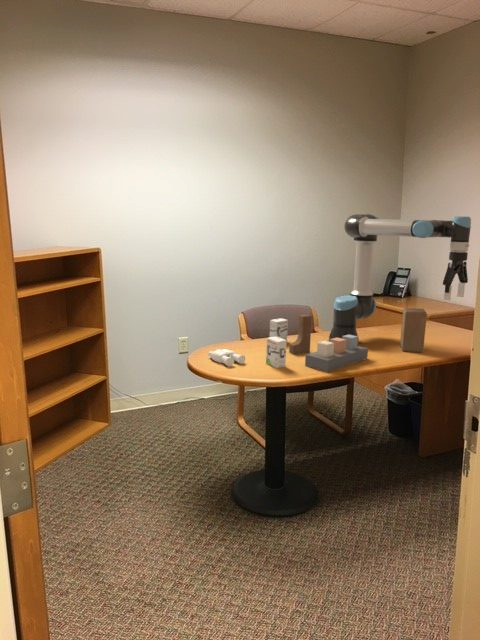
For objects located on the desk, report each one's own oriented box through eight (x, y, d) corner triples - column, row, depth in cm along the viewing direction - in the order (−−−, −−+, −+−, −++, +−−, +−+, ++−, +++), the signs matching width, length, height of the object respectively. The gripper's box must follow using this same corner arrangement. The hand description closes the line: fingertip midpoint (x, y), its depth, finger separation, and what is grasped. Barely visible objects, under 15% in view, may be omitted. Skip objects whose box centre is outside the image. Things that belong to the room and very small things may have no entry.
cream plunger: (316, 358, 221) (317, 342, 220) (323, 356, 224) (324, 340, 223) (326, 360, 217) (326, 344, 216) (333, 358, 221) (334, 342, 219)
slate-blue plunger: (341, 350, 233) (342, 336, 232) (347, 349, 236) (348, 334, 235) (350, 353, 230) (351, 338, 228) (356, 351, 233) (357, 336, 231)
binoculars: (226, 367, 218) (226, 357, 217) (205, 359, 230) (205, 349, 229) (245, 363, 224) (245, 353, 223) (224, 355, 237) (224, 345, 236)
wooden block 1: (293, 354, 238) (294, 317, 234) (288, 352, 242) (290, 315, 239) (310, 353, 242) (311, 316, 238) (305, 350, 246) (307, 314, 242)
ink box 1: (275, 344, 256) (276, 321, 254) (268, 342, 260) (269, 320, 257) (287, 342, 262) (288, 319, 259) (280, 340, 265) (281, 318, 263)
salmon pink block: (329, 354, 227) (330, 339, 226) (336, 352, 230) (337, 337, 229) (338, 356, 224) (339, 341, 222) (345, 354, 227) (346, 339, 225)
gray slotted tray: (305, 365, 222) (305, 354, 221) (345, 353, 242) (346, 343, 241) (327, 372, 213) (327, 360, 212) (367, 358, 234) (368, 348, 232)
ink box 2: (265, 363, 224) (266, 337, 222) (274, 361, 227) (275, 336, 225) (277, 368, 217) (277, 341, 215) (286, 366, 220) (287, 340, 217)
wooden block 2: (423, 353, 245) (427, 312, 241) (401, 351, 247) (405, 311, 243) (420, 347, 255) (424, 308, 251) (399, 346, 257) (403, 307, 252)
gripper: (454, 253, 217) (449, 302, 221) (478, 250, 234) (473, 296, 238) (437, 252, 222) (433, 300, 227) (462, 249, 239) (457, 294, 243)
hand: (453, 298), depth 232 cm, fingers open, 13 cm apart
